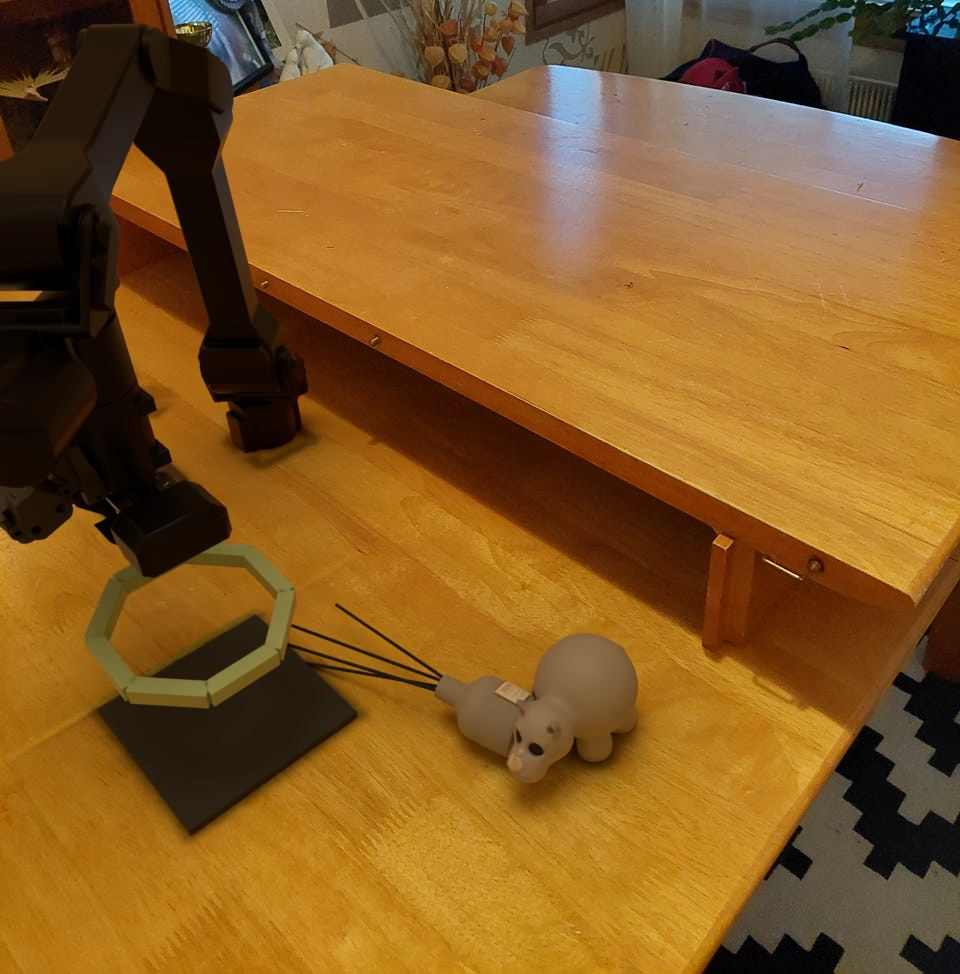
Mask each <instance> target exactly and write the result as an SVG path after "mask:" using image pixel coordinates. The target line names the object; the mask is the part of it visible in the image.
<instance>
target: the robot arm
mask: <svg viewBox="0 0 960 974" xmlns="http://www.w3.org/2000/svg"><path fill="white" fill-rule="evenodd" d="M234 93H235V91H234V84H233V79H232V75H231V72H230V70H229V67H228V66H227V64H226V63H225V62H224V61H222V59H221V57H220V56H218V55H217V54H215V53H213V52H212V51H211V49H210V48H208V47H206V46H200V45H197V44H194V43H190V42H187V41H184V40H181V39H178V38H174V37H172V36H169V35H168V34H166V33H165V32H164V31H162V29H160V28H158V27H156V26H152V27H151V26H150V25H148V24H147V23H143V22H142V23H105V24H102V23H101V24H100V23H99V24H91V25H89V26H88V27H87V28H82V29H81V30H80V31H79V32H78V33H77V37H76V56H75V58H74V60H73V62H72V63H71V66H70V67H69V69H68V70H67V72H66V74H65V76H64V78H63V81H62V82H61V84H60V86H59V88H58V90H57V92H56V93H55V95H54V97H53V99H52V101H51V103H50V105H49V107H48V109H47V111H46V112H45V114H44V116H43V118H42V120H41V122H40V124H39V125H38V127H37V129H36V130H35V133H34V135H33V137H32V138H31V140H30V142H29V143H28V145H27V146H26V147H25V148H24V149H23V150H22V151H20V152H18V153H16V154H14V155H12V156H10V157H9V156H8V157H7V158H5V159H3V160H1V161H0V292H40V293H39V294H38V295H37V296H36V297H35V298H34V299H33V300H0V528H1V529H2V530H3V531H4V532H6V534H7V535H8V536H9V538H10V539H12V540H13V541H17V542H18V543H19V544H22V545H28V544H31V543H33V542H34V541H43V540H46V539H48V538H49V537H50V536H51V535H53V533H55V532H56V531H57V530H58V529H59V528H61V527H62V526H63V525H64V524H65V523H66V522H67V521H69V520H70V519H71V518H72V517H73V514H74V506H75V507H76V508H77V509H81V510H84V511H88V512H91V513H94V514H98V515H101V516H102V517H103V518H104V519H102V520H100V521H98V522H96V523H93V526H94V527H95V528H96V529H97V531H98V532H100V534H101V535H102V536H103V537H104V538H105V539H106V540H107V541H108V542H109V543H111V544H112V545H115V546H117V547H118V549H119V551H120V553H121V554H122V555H123V557H124V558H125V560H127V562H129V563H130V565H133V567H134V568H135V569H136V570H137V571H138V572H139V573H140V574H141V575H142V576H143V577H150V578H155V577H158V576H159V575H161V574H163V573H165V572H167V571H169V570H171V569H172V568H174V567H176V566H178V565H180V564H182V563H184V562H185V561H187V560H189V559H191V558H193V557H195V556H197V555H198V554H200V553H202V552H204V551H206V550H208V549H210V548H211V547H213V546H215V545H217V544H219V543H224V542H225V541H226V540H228V539H230V537H231V534H232V532H233V526H232V523H231V519H230V515H229V512H228V508H227V507H226V506H225V505H224V504H223V503H222V502H221V501H220V500H219V499H217V497H215V496H214V495H213V494H212V493H210V492H209V491H208V490H207V489H206V488H205V487H203V485H201V484H200V483H196V482H194V481H190V480H182V481H180V482H179V481H178V480H177V479H175V478H174V477H173V476H172V475H171V474H170V473H169V472H167V471H158V469H159V468H161V467H163V466H165V465H167V464H169V463H171V464H172V463H173V459H172V455H171V451H170V449H169V448H168V447H167V446H165V445H164V444H163V443H162V442H161V441H160V440H159V439H157V438H156V436H155V433H154V430H153V426H152V423H151V419H150V417H149V415H150V414H152V413H154V412H157V411H158V408H157V405H156V402H155V398H154V396H153V395H152V394H150V392H147V390H145V389H144V388H143V387H142V386H141V385H139V381H138V378H137V374H136V371H135V369H134V366H133V362H132V359H131V355H130V352H129V349H128V345H127V342H126V337H125V336H124V333H123V330H122V325H121V322H120V319H119V316H118V313H117V310H116V305H115V303H116V302H115V299H116V292H117V290H119V288H120V286H121V283H122V281H121V278H120V277H119V275H118V264H119V252H120V237H121V230H122V229H121V227H120V224H119V222H118V220H117V218H116V216H115V214H114V211H113V209H112V206H111V204H110V202H111V199H112V195H113V191H114V187H115V185H116V183H117V181H118V179H119V176H120V175H121V171H122V169H123V167H124V164H125V162H126V159H127V157H128V155H129V153H130V150H131V148H132V146H133V145H134V146H135V148H137V149H138V150H139V151H140V152H141V153H142V154H143V155H144V156H145V157H146V158H147V159H148V160H149V161H150V162H151V163H152V164H153V165H155V166H156V167H157V168H158V169H159V170H160V171H161V172H162V173H163V174H164V177H165V180H166V184H167V186H168V189H169V193H170V197H171V200H172V203H173V206H174V207H173V208H174V210H175V213H176V218H177V220H178V223H179V226H180V230H181V233H182V237H183V239H184V243H185V247H186V250H187V253H188V256H189V261H190V263H191V267H192V271H193V273H194V278H195V280H196V284H197V288H198V291H199V294H200V297H201V300H202V305H203V307H204V311H205V314H206V317H207V322H208V326H207V328H206V331H205V333H204V336H203V338H202V341H201V343H200V346H199V348H198V354H197V360H198V363H199V372H200V376H201V378H202V381H203V383H204V385H205V386H206V388H207V390H208V393H209V395H210V396H211V399H212V401H213V403H214V404H215V403H216V404H217V403H222V402H223V403H226V402H227V406H228V411H226V412H225V417H226V422H227V425H228V428H229V429H228V430H229V434H230V438H231V441H232V445H234V446H235V447H236V448H237V449H239V450H240V451H241V452H243V453H244V454H250V453H255V452H258V451H260V450H262V451H263V450H264V451H265V450H266V451H267V450H273V449H278V448H280V447H283V446H285V445H288V444H289V443H290V442H291V441H292V440H294V439H295V437H296V436H297V433H298V432H299V431H300V430H302V429H303V428H304V427H303V426H304V425H303V421H302V417H301V410H300V405H299V398H300V397H302V396H303V395H305V394H308V392H309V383H308V379H307V369H306V366H305V365H306V364H305V358H303V356H302V355H300V354H299V352H298V351H296V350H295V349H294V348H293V347H292V346H291V345H288V342H287V338H286V335H285V332H284V330H283V326H282V322H281V321H280V320H278V318H276V317H275V316H274V315H273V314H272V313H271V312H269V311H268V310H267V309H266V308H265V307H264V306H263V305H262V304H261V303H260V302H259V300H258V296H257V293H256V288H255V284H254V281H253V280H254V279H253V275H252V272H251V268H250V264H249V260H248V256H247V252H246V248H245V245H244V240H243V236H242V233H241V229H240V224H239V220H238V215H237V212H236V211H237V210H236V207H235V204H234V200H233V196H232V191H231V187H230V184H229V179H228V176H227V171H226V168H225V163H224V159H223V154H222V153H223V150H224V147H225V144H226V142H227V139H228V136H229V133H230V131H231V127H232V125H233V122H234V114H233V107H234V103H235V99H234V97H235V95H234Z"/></svg>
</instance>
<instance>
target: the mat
mask: <svg viewBox="0 0 960 974" xmlns="http://www.w3.org/2000/svg"><path fill="white" fill-rule="evenodd" d="M269 626H270V625H268V624H267V623H266V622H264V621H263V619H262V618H261V617H260V616H258V614H256V613H255V614H253V615H251V616H250V617H249V618H246V619H245V620H243V621H242V622H241V623H238V624H237V625H235V626H233V627H231V628H230V629H228V630H226V631H225V632H223V633H221V634H220V635H218V636H217V637H215V638H213V639H212V640H210V641H208V642H206V643H205V644H204V645H202V646H200V647H198V648H197V649H195V650H193V651H192V652H190V653H189V654H187V655H185V656H183V657H182V658H180V659H178V660H177V661H175V662H173V663H171V664H170V665H169V666H167V667H165V668H163V669H161V670H160V671H158V672H157V673H155V674H153V675H151V676H150V677H151V678H167V679H183V680H198V681H207V680H208V679H210V678H211V677H213V676H215V675H216V674H218V673H220V672H221V671H223V670H224V669H226V668H228V667H229V666H231V665H232V664H234V663H236V662H237V661H239V660H240V659H242V658H244V657H245V656H247V655H248V654H250V653H252V652H253V651H255V650H256V649H258V648H260V647H261V646H263V645H264V644H265V642H266V638H267V634H268V630H269ZM97 712H98V714H99V715H100V717H101V719H103V721H104V723H105V724H106V725H107V727H108V728H109V729H110V731H111V732H112V733H113V735H114V736H115V737H116V739H117V740H118V741H119V742H120V744H121V745H122V746H123V748H124V749H125V750H126V752H127V753H128V754H129V756H130V757H131V758H132V760H133V761H134V762H135V764H136V765H137V767H138V768H139V769H140V770H141V772H142V773H143V774H144V776H145V777H146V778H147V780H148V781H149V782H150V784H151V785H152V786H153V788H154V789H155V790H156V791H157V793H158V795H160V796H161V798H162V799H163V800H164V802H165V803H166V804H167V806H168V807H169V809H170V810H171V811H172V813H173V814H174V815H175V817H176V818H177V819H178V821H179V822H180V823H181V824H182V826H183V827H184V828H185V830H186V832H188V834H189V835H190V836H192V835H194V834H195V833H196V832H198V831H199V830H200V829H202V828H204V827H205V826H206V825H208V824H209V823H211V822H212V821H214V820H215V819H216V818H218V817H219V816H220V815H222V814H223V813H225V812H226V811H228V810H229V809H230V808H231V807H233V806H234V805H236V804H237V803H239V802H240V801H241V800H243V799H244V798H245V797H247V796H248V795H250V794H251V793H252V792H254V791H255V790H257V789H259V787H261V786H262V785H264V784H265V783H267V782H268V781H270V779H273V778H274V777H275V776H276V775H278V774H279V773H281V772H283V770H285V769H286V768H287V767H289V766H290V765H292V764H293V763H295V762H296V761H297V760H299V759H300V758H301V757H303V756H305V755H306V754H307V753H309V752H310V751H312V750H313V749H315V748H316V747H317V746H319V745H320V744H322V742H324V741H325V740H327V739H328V738H329V737H330V736H332V735H334V734H335V733H337V732H338V731H339V730H341V729H342V728H344V727H345V726H346V725H348V724H349V723H350V722H352V721H353V720H355V719H356V718H357V717H358V716H359V715H358V711H357V710H356V709H355V708H354V707H353V706H352V705H351V704H350V703H349V702H348V701H347V700H345V698H343V696H341V695H340V694H339V692H337V691H336V690H335V689H334V688H333V687H332V686H331V685H330V684H329V683H328V682H327V681H326V680H325V679H324V678H323V677H321V675H319V673H317V671H315V669H313V668H312V666H310V665H308V664H307V663H306V661H305V660H304V658H302V657H301V656H300V655H299V654H298V653H297V652H296V651H295V649H293V648H291V647H286V651H285V656H284V660H280V665H279V666H277V667H276V668H274V669H272V670H271V671H269V672H268V673H266V674H265V675H263V676H262V677H260V678H258V679H257V680H255V681H254V682H252V683H251V684H249V685H248V686H246V687H244V688H243V689H241V690H240V691H238V692H237V693H235V694H234V695H232V696H230V697H229V698H227V699H226V700H224V701H223V702H221V703H220V704H218V705H216V706H213V705H212V703H210V706H209V708H194V707H178V706H162V705H146V704H131V703H130V701H129V700H127V701H125V700H124V698H123V697H122V696H121V694H120V695H118V696H117V697H115V698H113V699H112V700H110V701H108V702H106V703H105V704H103V705H102V706H100V707H98V708H97Z"/></svg>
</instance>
